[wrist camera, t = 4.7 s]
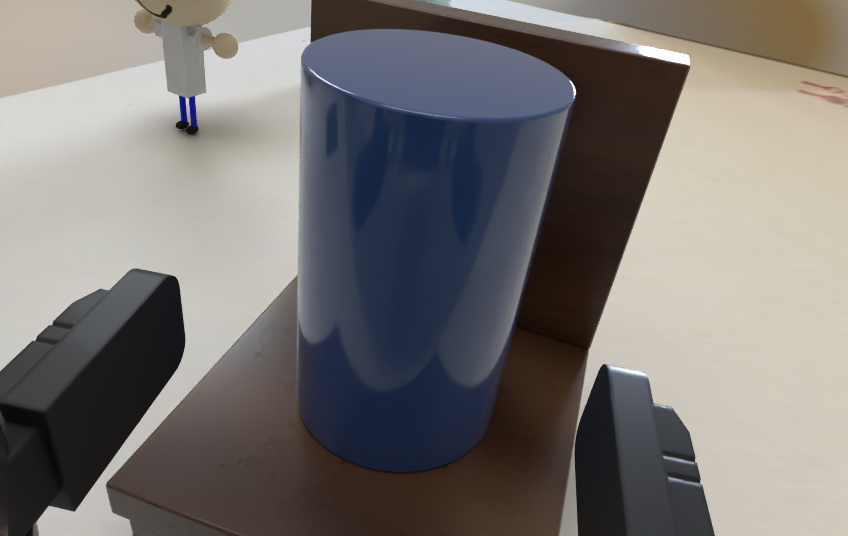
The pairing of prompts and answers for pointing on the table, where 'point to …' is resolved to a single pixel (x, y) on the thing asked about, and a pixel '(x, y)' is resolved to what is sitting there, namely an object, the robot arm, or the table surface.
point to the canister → (416, 235)
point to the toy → (186, 45)
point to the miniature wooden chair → (526, 363)
